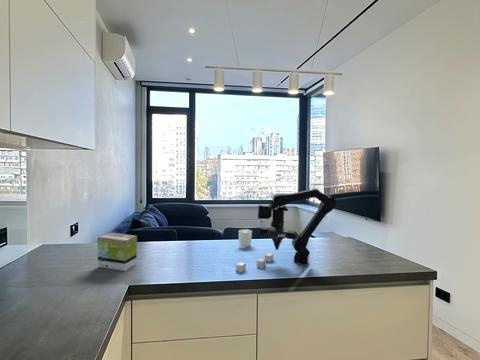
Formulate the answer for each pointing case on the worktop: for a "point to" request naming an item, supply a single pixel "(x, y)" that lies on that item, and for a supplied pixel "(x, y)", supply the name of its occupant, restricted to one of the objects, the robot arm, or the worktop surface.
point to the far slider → (269, 257)
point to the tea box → (117, 251)
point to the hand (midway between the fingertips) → (276, 249)
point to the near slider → (240, 267)
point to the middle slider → (261, 263)
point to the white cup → (244, 238)
